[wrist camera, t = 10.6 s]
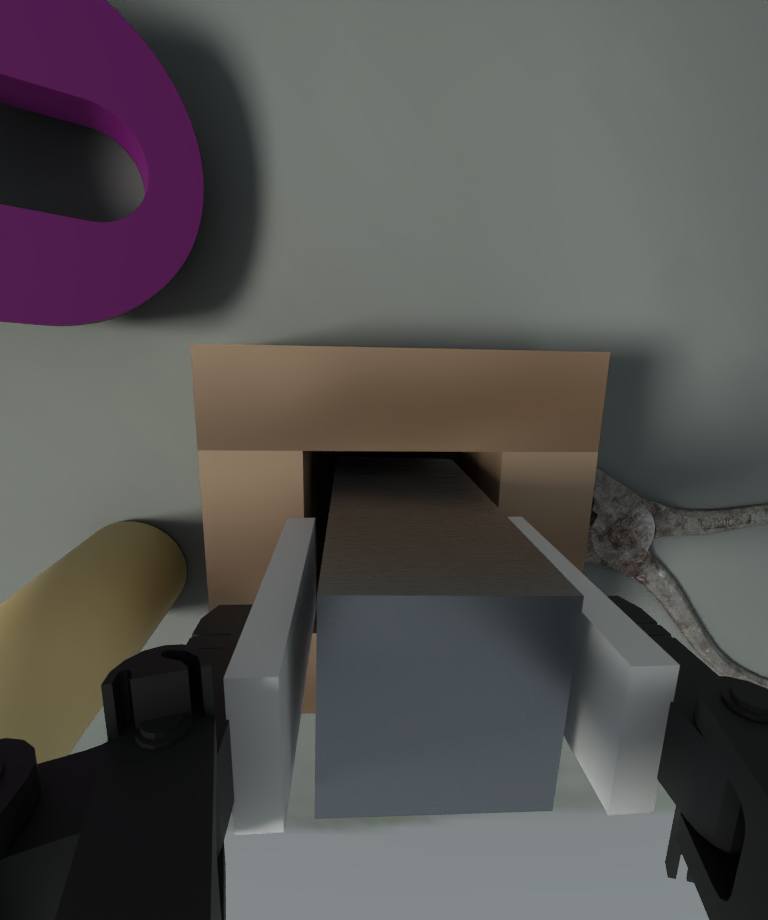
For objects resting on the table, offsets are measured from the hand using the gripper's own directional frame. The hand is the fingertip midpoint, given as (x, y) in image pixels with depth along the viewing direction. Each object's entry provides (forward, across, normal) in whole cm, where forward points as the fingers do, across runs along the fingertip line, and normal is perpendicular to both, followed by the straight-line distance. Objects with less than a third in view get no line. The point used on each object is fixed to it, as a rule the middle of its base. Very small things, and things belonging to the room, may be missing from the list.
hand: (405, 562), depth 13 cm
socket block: (+6, 0, 0) cm, 6 cm away
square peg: (+4, 0, 0) cm, 4 cm away
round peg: (+6, -10, -3) cm, 13 cm away
